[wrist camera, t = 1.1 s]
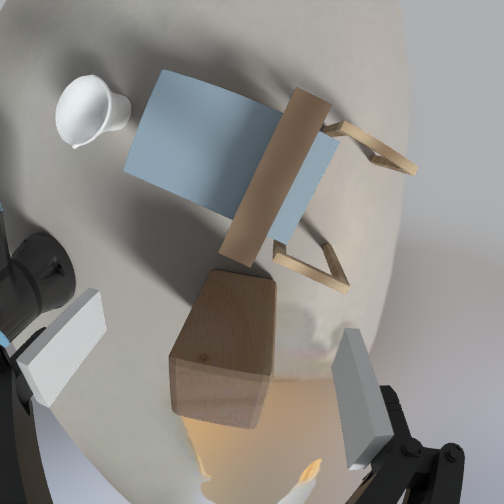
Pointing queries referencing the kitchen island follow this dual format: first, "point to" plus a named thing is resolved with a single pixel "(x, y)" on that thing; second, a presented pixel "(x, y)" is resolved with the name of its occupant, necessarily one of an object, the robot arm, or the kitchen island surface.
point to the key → (274, 176)
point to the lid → (217, 149)
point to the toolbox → (338, 277)
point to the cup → (89, 110)
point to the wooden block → (226, 351)
